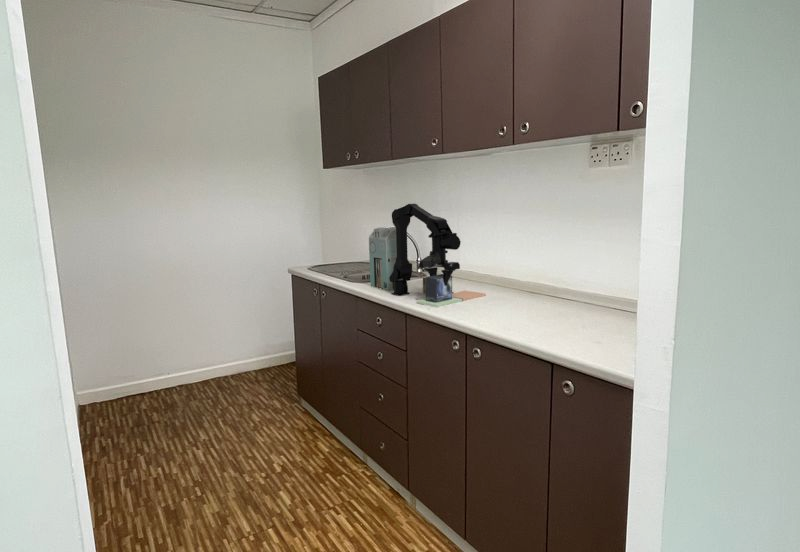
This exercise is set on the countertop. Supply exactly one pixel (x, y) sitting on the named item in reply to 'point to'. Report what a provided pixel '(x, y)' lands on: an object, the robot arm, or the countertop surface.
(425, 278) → the brown wooden block
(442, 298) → the small box
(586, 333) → the countertop surface
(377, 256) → the device
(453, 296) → the green and salmon panel
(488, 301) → the countertop surface
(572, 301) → the countertop surface
